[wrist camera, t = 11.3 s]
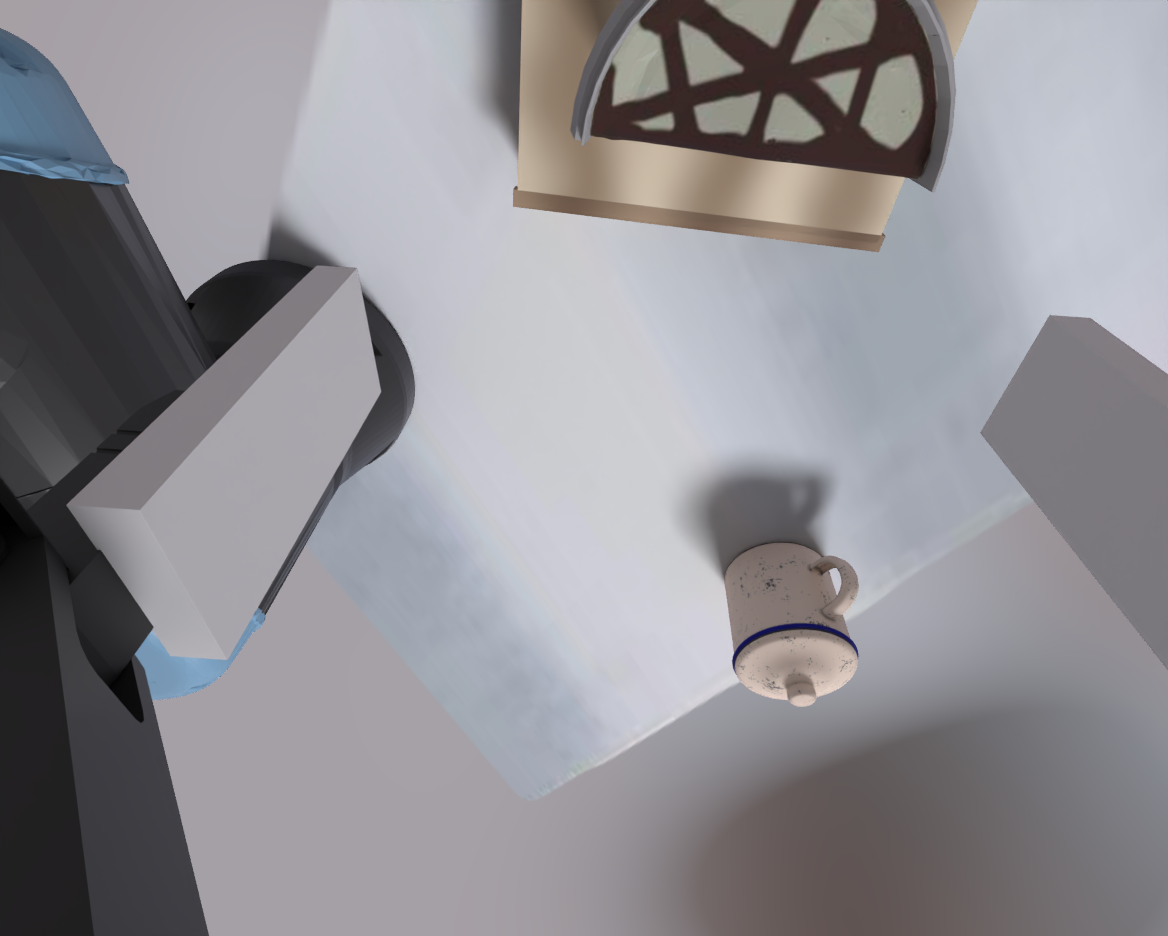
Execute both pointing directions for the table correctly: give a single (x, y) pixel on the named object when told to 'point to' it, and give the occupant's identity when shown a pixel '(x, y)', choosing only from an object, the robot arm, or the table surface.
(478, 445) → the table surface
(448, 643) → the table surface
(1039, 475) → the robot arm
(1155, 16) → the table surface
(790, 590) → the teacup with lid
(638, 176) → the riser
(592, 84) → the food container
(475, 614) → the table surface
